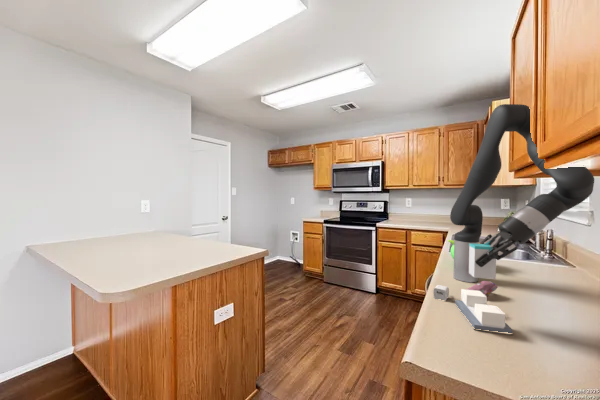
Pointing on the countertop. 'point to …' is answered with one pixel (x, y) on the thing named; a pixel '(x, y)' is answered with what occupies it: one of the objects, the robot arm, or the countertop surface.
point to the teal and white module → (474, 269)
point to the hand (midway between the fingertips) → (474, 262)
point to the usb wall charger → (441, 292)
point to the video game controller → (484, 287)
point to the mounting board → (482, 312)
